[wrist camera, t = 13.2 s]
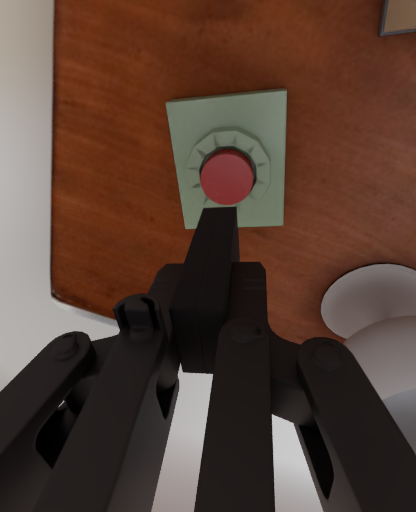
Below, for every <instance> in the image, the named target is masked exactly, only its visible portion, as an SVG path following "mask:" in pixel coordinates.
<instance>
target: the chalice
mask: <svg viewBox="0 0 416 512" xmlns="http://www.w3.org/2000/svg"><path fill="white" fill-rule="evenodd" d="M321 314H322V318H323V321H324V322H325V324H326V325H327V327H328V328H329V329H331V330H332V331H333V332H334V333H335V334H337V335H339V336H341V337H343V338H346V339H347V340H346V341H345V342H344V343H343V345H345V346H346V347H347V348H348V349H349V350H350V351H351V352H352V353H353V355H354V356H355V358H356V360H357V361H358V363H359V364H360V366H361V368H362V369H363V371H364V372H365V374H366V376H367V377H368V379H369V380H370V382H371V384H372V385H373V387H374V388H375V390H376V392H377V393H378V395H379V396H380V398H381V400H382V401H383V403H384V404H385V406H386V408H387V409H388V411H389V412H390V414H391V416H392V417H393V419H394V420H395V422H396V424H397V425H398V427H399V428H400V430H401V432H402V433H403V435H404V436H405V438H406V440H407V441H408V443H409V444H410V446H411V447H412V449H413V451H414V452H415V454H416V271H415V270H413V269H410V268H407V267H404V266H401V265H393V264H378V265H371V266H367V267H362V268H359V269H357V270H354V271H352V272H349V273H348V274H346V275H344V276H343V277H341V278H340V279H338V280H337V281H336V282H335V283H334V284H333V285H332V286H331V287H330V288H329V289H328V291H327V292H326V294H325V295H324V298H323V301H322V303H321Z"/></svg>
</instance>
